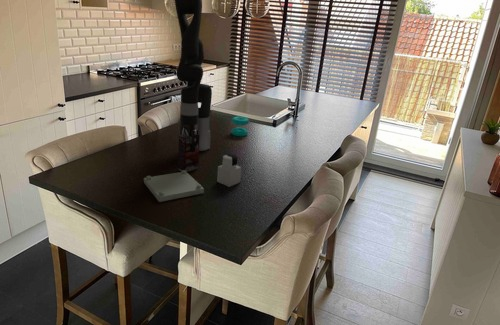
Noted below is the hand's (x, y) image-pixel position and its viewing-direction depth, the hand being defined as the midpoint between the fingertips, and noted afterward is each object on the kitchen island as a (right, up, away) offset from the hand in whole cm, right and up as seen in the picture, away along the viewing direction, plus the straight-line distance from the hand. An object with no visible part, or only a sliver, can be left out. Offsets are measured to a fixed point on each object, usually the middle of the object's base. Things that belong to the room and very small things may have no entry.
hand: (188, 148), depth 159 cm
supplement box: (-1, -9, +4) cm, 10 cm away
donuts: (+21, +10, +57) cm, 61 cm away
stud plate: (-4, -16, -15) cm, 22 cm away
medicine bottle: (+18, -15, -6) cm, 24 cm away
